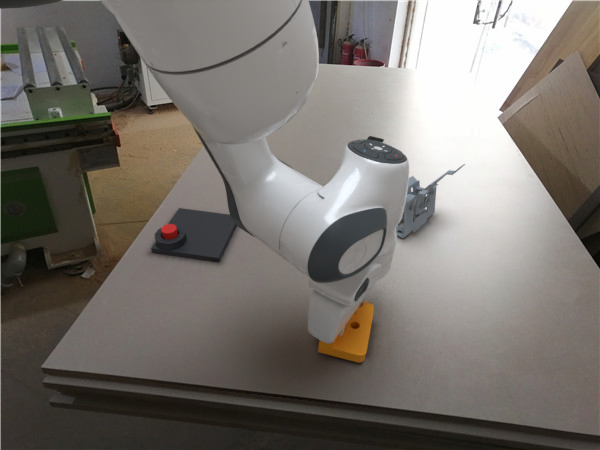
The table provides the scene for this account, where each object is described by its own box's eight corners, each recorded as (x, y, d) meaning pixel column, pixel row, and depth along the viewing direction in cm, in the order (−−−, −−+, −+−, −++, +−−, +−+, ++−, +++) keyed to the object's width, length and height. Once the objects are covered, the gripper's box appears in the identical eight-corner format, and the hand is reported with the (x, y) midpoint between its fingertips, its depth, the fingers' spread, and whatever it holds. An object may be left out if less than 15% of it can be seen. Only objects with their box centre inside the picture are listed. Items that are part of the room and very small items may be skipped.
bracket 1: (363, 367, 62) (374, 317, 55) (317, 355, 64) (323, 304, 56) (372, 314, 70) (383, 264, 63) (332, 304, 72) (338, 254, 64)
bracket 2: (417, 247, 85) (433, 187, 75) (378, 226, 90) (389, 167, 81) (446, 221, 92) (465, 164, 83) (409, 203, 97) (423, 147, 88)
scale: (219, 262, 79) (217, 251, 78) (152, 252, 81) (149, 241, 79) (239, 219, 90) (238, 209, 88) (179, 212, 92) (177, 201, 90)
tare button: (174, 240, 80) (172, 234, 79) (159, 238, 80) (158, 232, 79) (180, 231, 82) (179, 224, 81) (166, 229, 83) (164, 222, 82)
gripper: (372, 208, 64) (361, 270, 72) (300, 285, 50) (297, 351, 59) (410, 222, 61) (393, 285, 70) (345, 308, 48) (335, 374, 56)
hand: (349, 316), depth 64 cm, fingers closed on bracket 1, 5 cm apart
